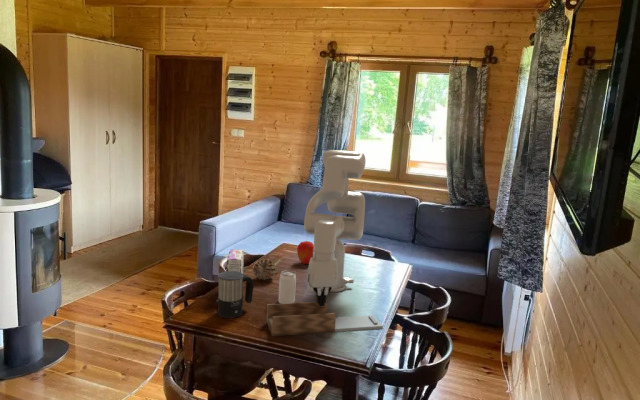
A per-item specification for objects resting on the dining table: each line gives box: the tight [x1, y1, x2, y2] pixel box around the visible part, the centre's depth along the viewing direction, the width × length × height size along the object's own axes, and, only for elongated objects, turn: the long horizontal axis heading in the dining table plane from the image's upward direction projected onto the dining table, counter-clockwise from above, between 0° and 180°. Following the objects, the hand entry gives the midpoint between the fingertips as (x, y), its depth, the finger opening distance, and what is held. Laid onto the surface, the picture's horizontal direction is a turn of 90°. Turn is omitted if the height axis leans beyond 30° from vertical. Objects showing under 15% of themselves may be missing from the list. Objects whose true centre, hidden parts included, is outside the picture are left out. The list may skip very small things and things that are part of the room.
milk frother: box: [215, 270, 254, 319], centre depth 183 cm, size 14×16×15 cm
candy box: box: [226, 248, 245, 275], centre depth 199 cm, size 14×6×16 cm, turn 5°
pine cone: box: [252, 258, 283, 281], centre depth 221 cm, size 22×10×10 cm, turn 161°
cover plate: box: [335, 314, 384, 332], centre depth 177 cm, size 18×9×2 cm, turn 105°
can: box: [278, 270, 297, 304], centre depth 193 cm, size 6×6×12 cm
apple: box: [297, 240, 314, 265], centre depth 244 cm, size 9×9×12 cm
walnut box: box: [266, 300, 337, 337], centre depth 171 cm, size 22×11×7 cm, turn 106°
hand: (321, 304), depth 174 cm, fingers closed
